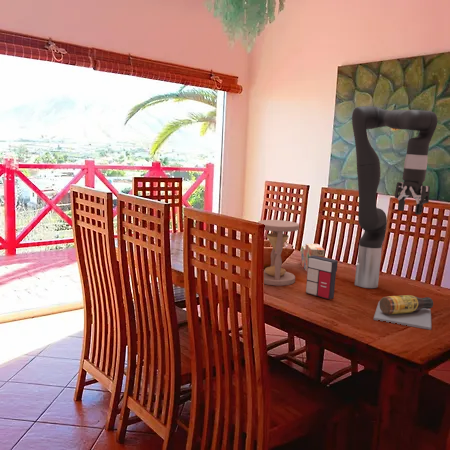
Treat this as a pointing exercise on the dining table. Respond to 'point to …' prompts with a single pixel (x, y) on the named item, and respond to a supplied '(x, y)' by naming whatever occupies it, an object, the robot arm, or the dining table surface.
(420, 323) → the slate mat
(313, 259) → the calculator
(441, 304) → the dining table surface
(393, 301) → the sauce bottle
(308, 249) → the cardboard box
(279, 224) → the hourglass
